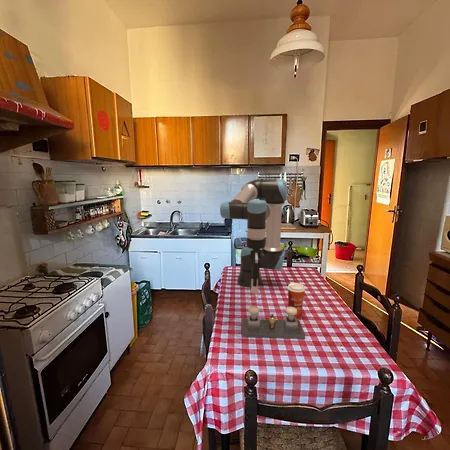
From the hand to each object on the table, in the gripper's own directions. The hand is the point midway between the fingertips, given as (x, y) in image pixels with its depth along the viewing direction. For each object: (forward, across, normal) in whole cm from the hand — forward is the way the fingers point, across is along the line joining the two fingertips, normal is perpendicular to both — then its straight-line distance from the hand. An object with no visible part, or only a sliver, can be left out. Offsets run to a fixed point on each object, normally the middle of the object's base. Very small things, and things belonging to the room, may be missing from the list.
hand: (254, 292), depth 113 cm
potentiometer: (+16, 0, +8) cm, 17 cm away
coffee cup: (+18, -14, +21) cm, 31 cm away
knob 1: (+12, 0, 0) cm, 12 cm away
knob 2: (+12, 0, +16) cm, 20 cm away
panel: (+18, 0, +8) cm, 19 cm away
